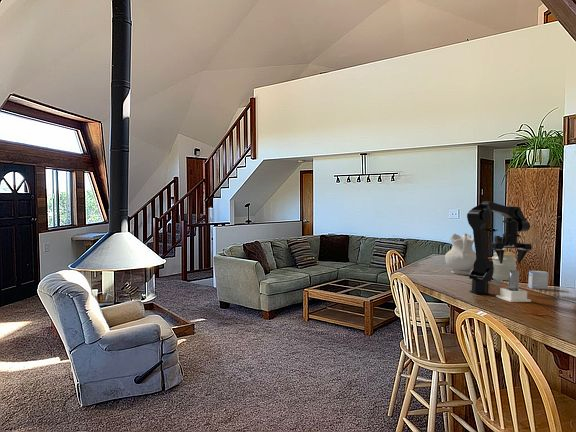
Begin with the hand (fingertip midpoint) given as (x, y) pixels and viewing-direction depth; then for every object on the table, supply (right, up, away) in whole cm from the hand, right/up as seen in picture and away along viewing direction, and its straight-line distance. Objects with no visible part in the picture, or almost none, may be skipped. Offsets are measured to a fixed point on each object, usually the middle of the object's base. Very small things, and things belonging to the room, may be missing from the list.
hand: (509, 263), depth 217 cm
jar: (+14, -13, +36) cm, 41 cm away
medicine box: (+18, -14, +8) cm, 25 cm away
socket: (-9, -14, -21) cm, 27 cm away
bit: (-9, -13, -21) cm, 27 cm away
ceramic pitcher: (-3, -12, +51) cm, 53 cm away
